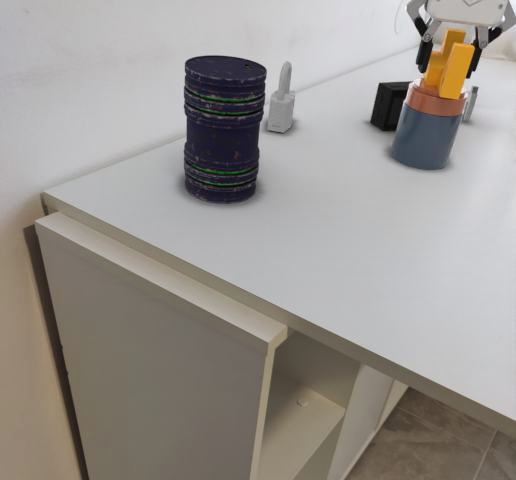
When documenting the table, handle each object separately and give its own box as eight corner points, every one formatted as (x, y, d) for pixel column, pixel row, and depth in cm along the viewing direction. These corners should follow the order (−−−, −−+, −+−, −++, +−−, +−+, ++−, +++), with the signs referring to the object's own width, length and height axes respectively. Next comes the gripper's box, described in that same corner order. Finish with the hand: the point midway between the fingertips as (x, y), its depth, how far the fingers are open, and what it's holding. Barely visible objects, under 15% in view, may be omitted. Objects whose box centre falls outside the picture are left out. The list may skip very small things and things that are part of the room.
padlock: (273, 117, 95) (279, 55, 88) (295, 121, 94) (303, 58, 88) (263, 130, 90) (269, 65, 83) (286, 134, 89) (295, 69, 83)
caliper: (468, 124, 102) (480, 89, 98) (462, 123, 102) (474, 88, 98) (455, 92, 117) (465, 61, 113) (450, 91, 117) (460, 60, 113)
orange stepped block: (422, 72, 84) (435, 26, 80) (450, 76, 84) (464, 30, 80) (427, 95, 75) (442, 43, 71) (458, 99, 75) (474, 48, 71)
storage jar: (204, 209, 67) (208, 82, 57) (171, 177, 73) (169, 57, 63) (270, 196, 72) (284, 76, 62) (234, 166, 78) (241, 53, 68)
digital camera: (386, 134, 94) (396, 91, 89) (369, 122, 97) (378, 81, 93) (433, 130, 98) (445, 89, 93) (415, 119, 101) (426, 79, 96)
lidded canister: (441, 150, 90) (463, 80, 83) (451, 172, 84) (477, 98, 76) (387, 143, 90) (404, 73, 83) (393, 165, 83) (413, 91, 76)
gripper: (426, -90, 64) (387, 73, 76) (568, -73, 64) (508, 88, 76) (416, -93, 69) (382, 60, 81) (547, -77, 69) (494, 73, 81)
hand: (443, 72), depth 78 cm, fingers open, 5 cm apart
